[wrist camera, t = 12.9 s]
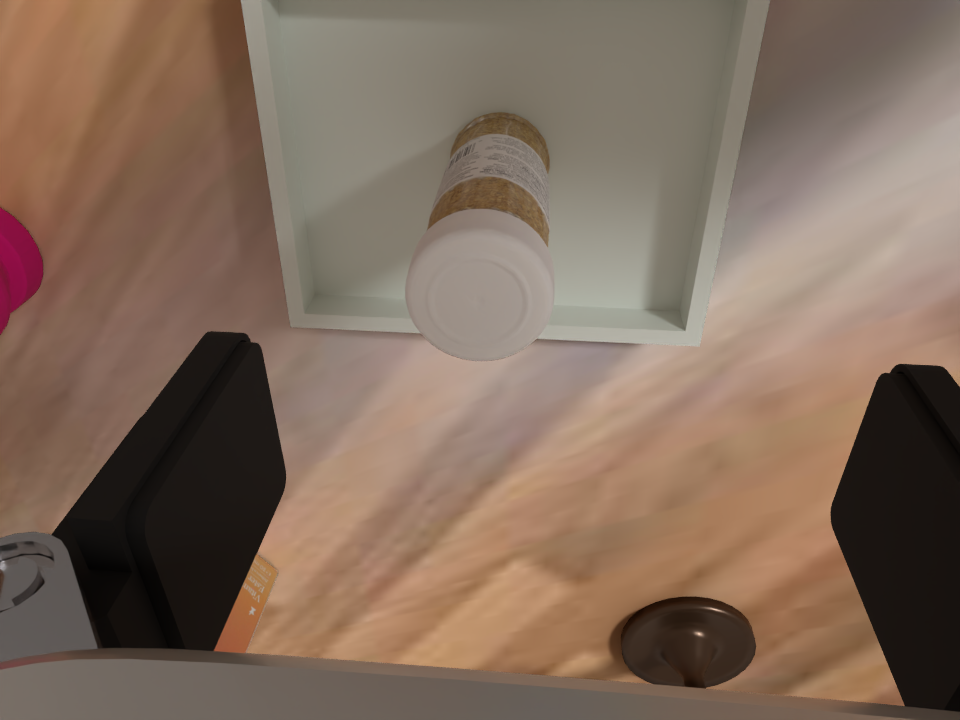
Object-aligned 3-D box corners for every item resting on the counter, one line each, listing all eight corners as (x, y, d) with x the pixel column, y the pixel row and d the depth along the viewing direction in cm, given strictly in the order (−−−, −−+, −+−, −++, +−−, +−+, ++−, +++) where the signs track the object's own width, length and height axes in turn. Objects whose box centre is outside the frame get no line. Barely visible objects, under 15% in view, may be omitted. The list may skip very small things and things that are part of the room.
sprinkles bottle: (489, 225, 35) (463, 389, 24) (429, 147, 33) (370, 286, 22) (571, 171, 33) (584, 320, 22) (512, 85, 32) (494, 201, 20)
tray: (756, -37, 29) (775, -29, 27) (689, 315, 38) (699, 346, 36) (260, -46, 30) (235, -39, 28) (306, 298, 39) (290, 327, 37)
